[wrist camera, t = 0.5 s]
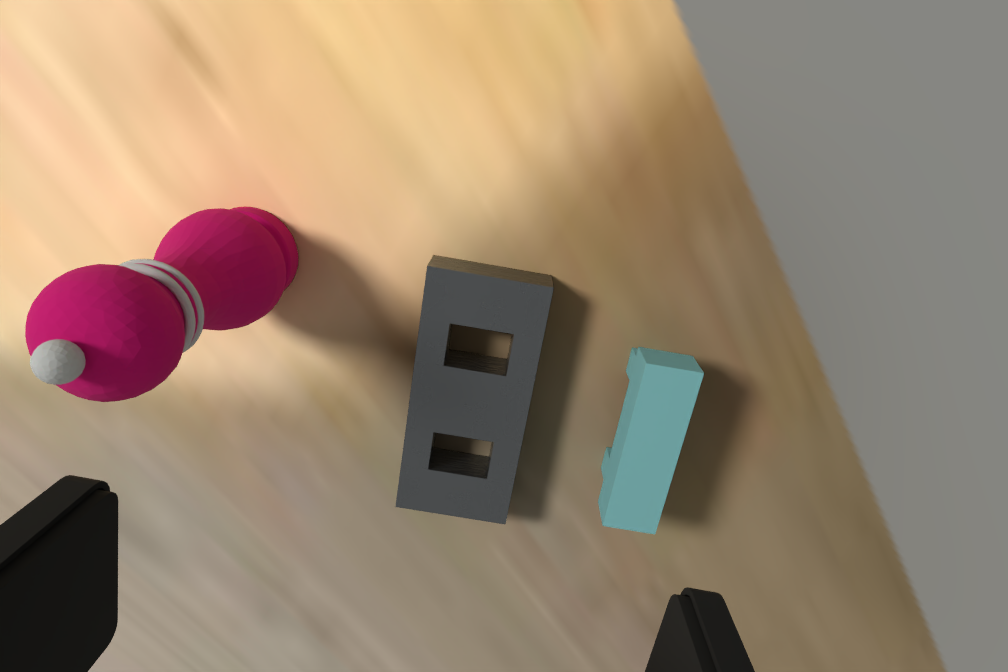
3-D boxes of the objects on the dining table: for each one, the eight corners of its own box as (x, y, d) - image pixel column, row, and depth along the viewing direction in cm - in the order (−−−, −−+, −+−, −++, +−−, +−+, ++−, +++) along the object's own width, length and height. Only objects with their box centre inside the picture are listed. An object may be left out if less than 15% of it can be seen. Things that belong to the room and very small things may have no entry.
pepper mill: (328, 257, 43) (177, 378, 24) (259, 325, 45) (67, 486, 26) (245, 175, 41) (12, 236, 22) (177, 249, 43) (-93, 363, 24)
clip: (631, 332, 44) (646, 363, 39) (682, 341, 44) (704, 373, 39) (594, 479, 48) (602, 525, 43) (640, 487, 48) (655, 534, 43)
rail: (433, 255, 43) (427, 265, 40) (551, 275, 43) (553, 287, 40) (402, 483, 49) (395, 506, 46) (506, 500, 49) (505, 524, 46)
